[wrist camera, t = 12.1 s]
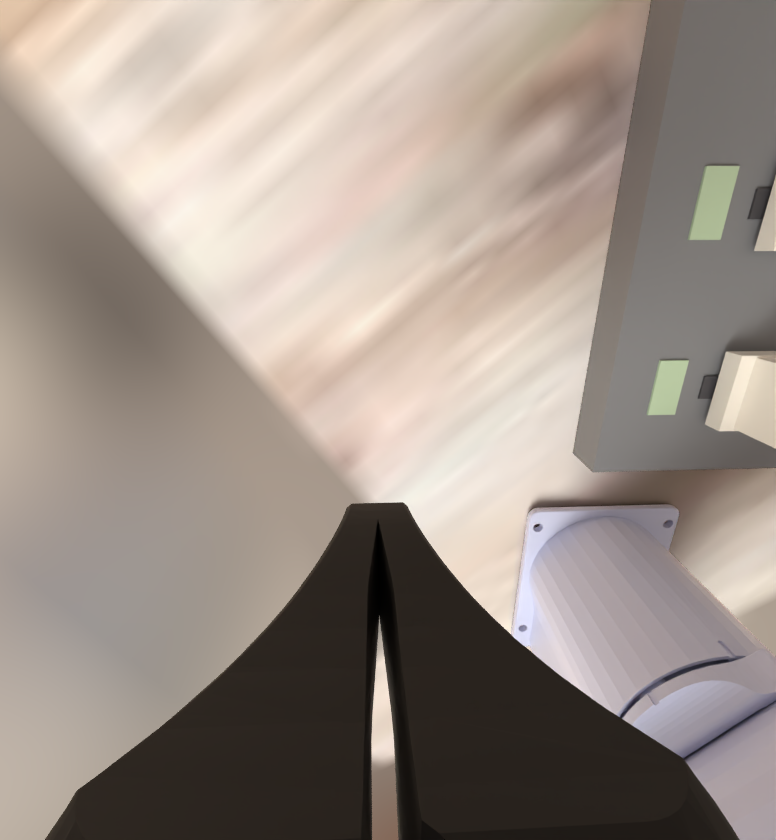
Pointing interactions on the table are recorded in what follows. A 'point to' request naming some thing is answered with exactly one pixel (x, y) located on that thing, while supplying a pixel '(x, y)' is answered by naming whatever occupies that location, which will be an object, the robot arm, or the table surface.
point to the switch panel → (686, 243)
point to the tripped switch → (768, 225)
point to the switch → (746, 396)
